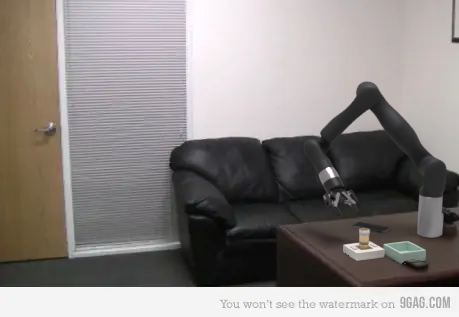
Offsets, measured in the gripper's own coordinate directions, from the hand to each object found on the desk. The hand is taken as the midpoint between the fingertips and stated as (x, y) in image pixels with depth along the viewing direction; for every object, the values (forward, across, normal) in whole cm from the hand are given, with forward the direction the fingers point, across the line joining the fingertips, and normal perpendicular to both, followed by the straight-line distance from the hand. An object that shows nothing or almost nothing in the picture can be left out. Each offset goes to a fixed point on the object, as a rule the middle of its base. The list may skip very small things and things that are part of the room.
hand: (348, 215), depth 224 cm
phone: (0, +26, +20) cm, 33 cm away
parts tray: (+23, +12, -4) cm, 26 cm away
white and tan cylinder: (+16, 0, +3) cm, 16 cm away
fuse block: (+16, 0, +3) cm, 16 cm away
